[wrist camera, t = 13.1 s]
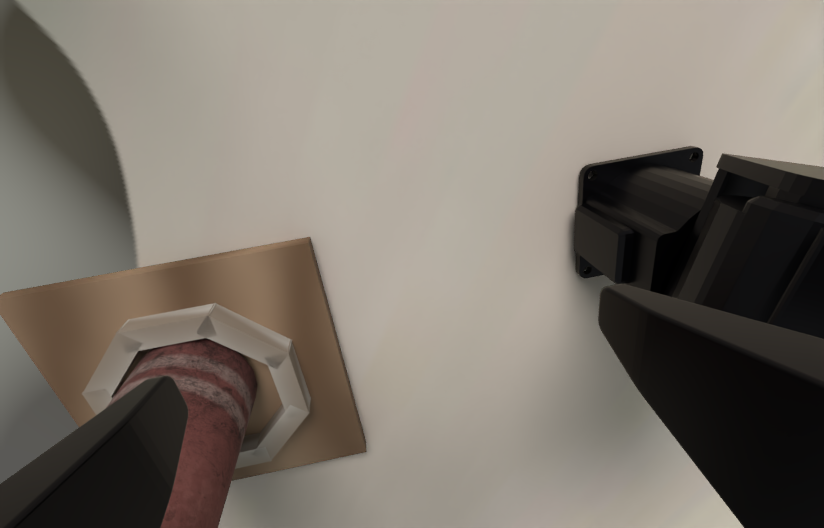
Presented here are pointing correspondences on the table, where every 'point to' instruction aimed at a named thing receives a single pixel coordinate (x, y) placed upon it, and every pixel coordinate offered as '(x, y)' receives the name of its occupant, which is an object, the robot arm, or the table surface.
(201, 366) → the can
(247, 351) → the cup holder
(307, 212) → the table surface
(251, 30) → the table surface
